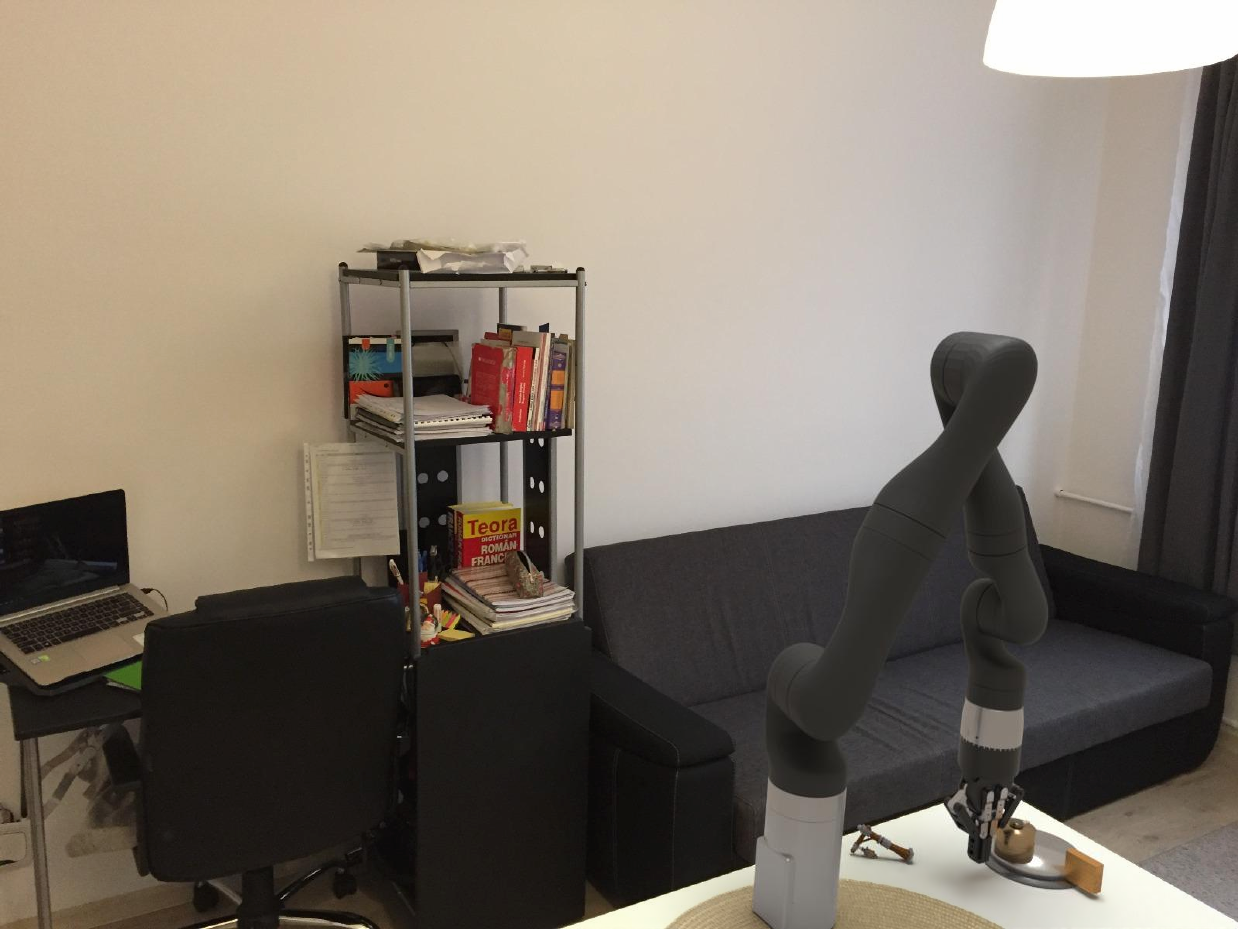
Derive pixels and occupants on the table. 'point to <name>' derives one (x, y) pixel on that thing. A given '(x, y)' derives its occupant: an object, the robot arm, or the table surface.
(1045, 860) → the silver disc with handle
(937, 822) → the table surface
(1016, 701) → the robot arm
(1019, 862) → the cover
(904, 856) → the toy blunderbuss
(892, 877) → the table surface
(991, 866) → the base plate
